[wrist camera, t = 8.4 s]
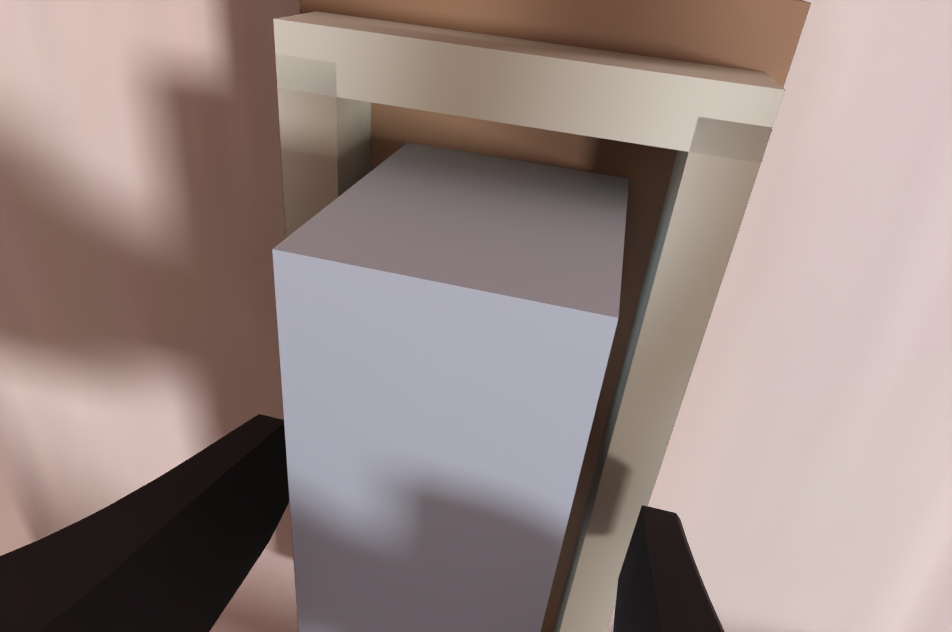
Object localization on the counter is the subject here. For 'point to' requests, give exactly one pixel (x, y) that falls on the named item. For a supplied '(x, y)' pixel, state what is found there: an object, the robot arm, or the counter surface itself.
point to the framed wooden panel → (573, 147)
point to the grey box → (443, 386)
